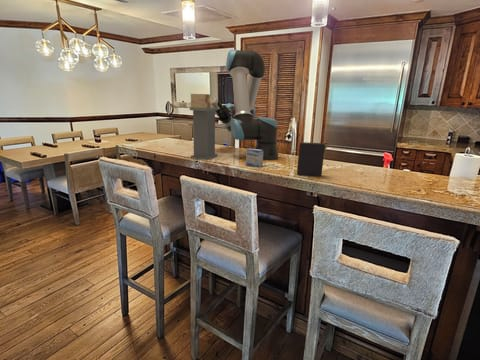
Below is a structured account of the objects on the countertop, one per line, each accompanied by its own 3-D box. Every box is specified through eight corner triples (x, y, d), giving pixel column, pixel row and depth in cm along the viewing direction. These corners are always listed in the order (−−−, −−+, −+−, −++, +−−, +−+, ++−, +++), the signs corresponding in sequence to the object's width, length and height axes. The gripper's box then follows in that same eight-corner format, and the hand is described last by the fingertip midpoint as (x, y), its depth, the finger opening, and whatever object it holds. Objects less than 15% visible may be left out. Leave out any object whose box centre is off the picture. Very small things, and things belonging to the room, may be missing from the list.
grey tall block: (202, 153, 175) (202, 106, 168) (218, 155, 171) (219, 107, 164) (189, 158, 161) (188, 107, 153) (206, 160, 157) (206, 108, 149)
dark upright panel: (320, 174, 135) (323, 142, 131) (321, 176, 131) (325, 144, 127) (296, 173, 136) (299, 141, 132) (297, 175, 132) (300, 143, 128)
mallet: (213, 106, 177) (213, 94, 175) (225, 107, 175) (225, 95, 173) (190, 107, 153) (190, 93, 151) (204, 107, 150) (204, 94, 148)
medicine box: (245, 165, 148) (246, 149, 146) (249, 163, 152) (250, 147, 150) (259, 167, 145) (260, 150, 143) (262, 165, 149) (263, 149, 146)
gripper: (235, 124, 184) (222, 106, 163) (214, 123, 189) (198, 105, 168) (238, 114, 186) (225, 94, 164) (216, 112, 191) (201, 93, 170)
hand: (212, 99), depth 166 cm, fingers closed on mallet, 2 cm apart
